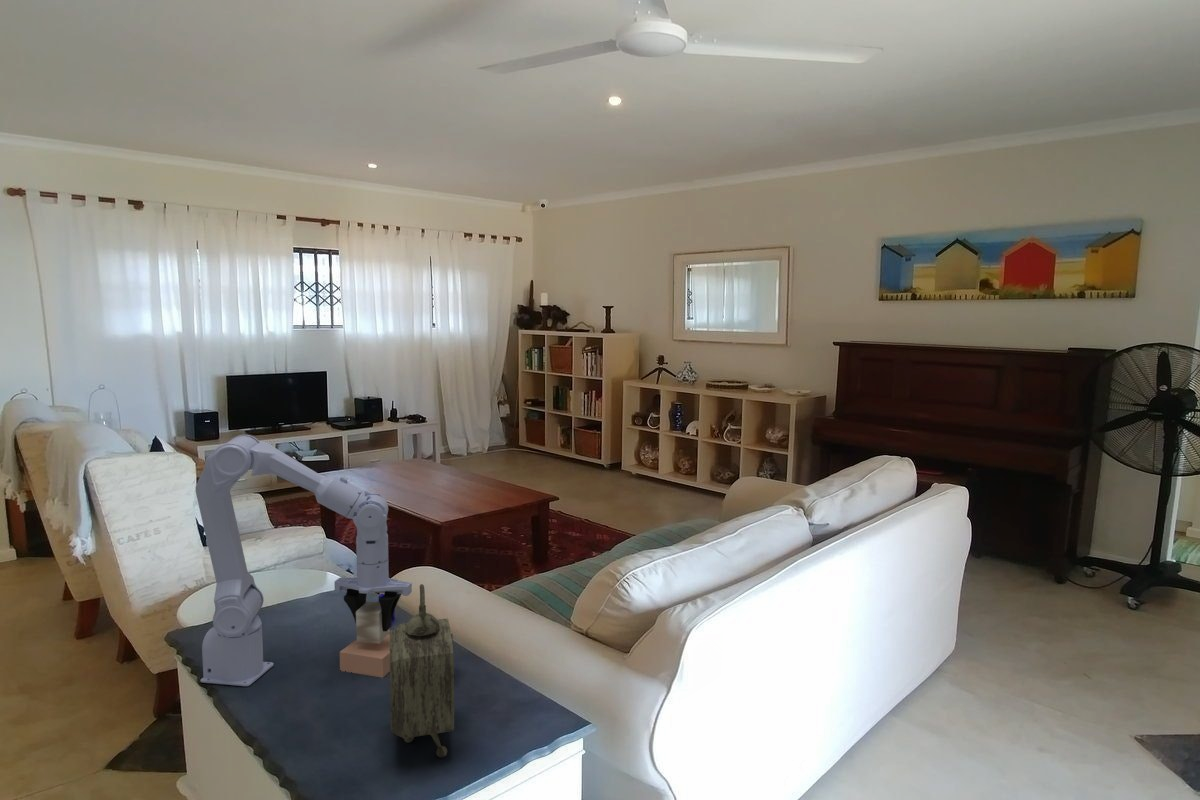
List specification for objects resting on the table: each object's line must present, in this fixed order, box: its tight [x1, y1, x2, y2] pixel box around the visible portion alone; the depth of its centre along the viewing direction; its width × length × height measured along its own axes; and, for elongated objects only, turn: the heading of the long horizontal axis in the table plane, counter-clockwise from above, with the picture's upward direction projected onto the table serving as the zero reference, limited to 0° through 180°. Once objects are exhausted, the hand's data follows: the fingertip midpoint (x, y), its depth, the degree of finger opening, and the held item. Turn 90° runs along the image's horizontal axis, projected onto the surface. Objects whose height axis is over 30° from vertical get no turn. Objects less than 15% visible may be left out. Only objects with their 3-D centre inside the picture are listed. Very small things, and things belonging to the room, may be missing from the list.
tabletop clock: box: [389, 584, 455, 759], centre depth 107 cm, size 14×9×25 cm, turn 17°
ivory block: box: [355, 601, 391, 644], centre depth 131 cm, size 4×4×6 cm
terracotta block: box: [339, 633, 390, 679], centre depth 132 cm, size 9×9×4 cm
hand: (374, 628), depth 131 cm, fingers closed on ivory block, 4 cm apart
